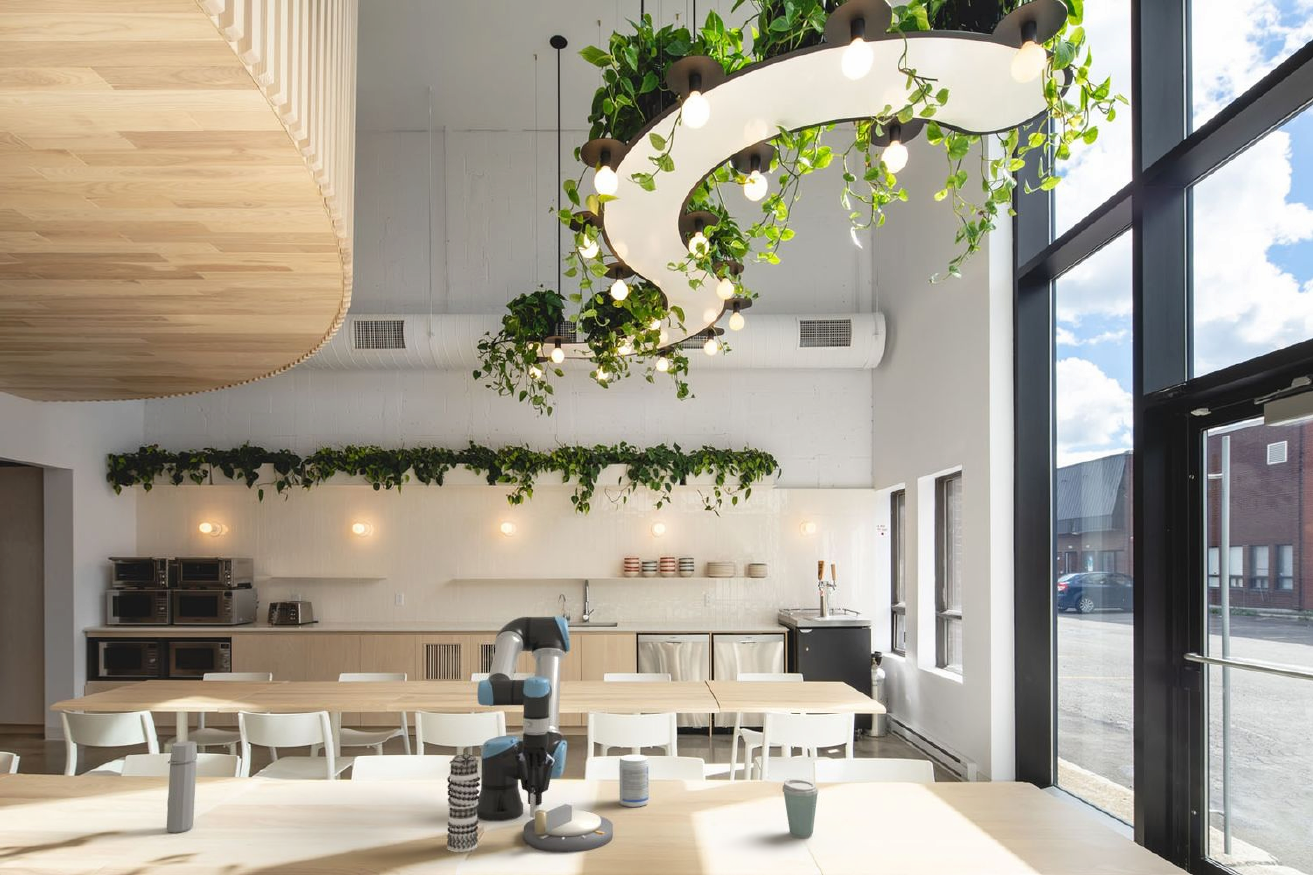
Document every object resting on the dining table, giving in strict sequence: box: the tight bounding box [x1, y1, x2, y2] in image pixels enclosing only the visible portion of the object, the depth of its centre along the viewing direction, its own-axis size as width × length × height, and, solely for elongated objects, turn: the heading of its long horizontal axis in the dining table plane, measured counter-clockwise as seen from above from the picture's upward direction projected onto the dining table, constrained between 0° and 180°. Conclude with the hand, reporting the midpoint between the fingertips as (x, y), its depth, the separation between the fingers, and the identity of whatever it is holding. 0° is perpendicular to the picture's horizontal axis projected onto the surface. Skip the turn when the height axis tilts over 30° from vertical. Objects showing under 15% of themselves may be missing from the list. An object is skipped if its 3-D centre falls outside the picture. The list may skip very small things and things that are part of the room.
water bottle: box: [166, 740, 198, 834], centre depth 275 cm, size 9×8×25 cm
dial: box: [534, 803, 601, 836], centre depth 266 cm, size 24×19×7 cm
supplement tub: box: [618, 754, 650, 808], centre depth 302 cm, size 10×10×15 cm
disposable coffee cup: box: [782, 778, 819, 839], centre depth 271 cm, size 11×11×15 cm
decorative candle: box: [446, 753, 481, 853], centre depth 260 cm, size 9×9×25 cm
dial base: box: [522, 815, 614, 853], centre depth 268 cm, size 26×26×3 cm
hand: (534, 815), depth 265 cm, fingers closed
